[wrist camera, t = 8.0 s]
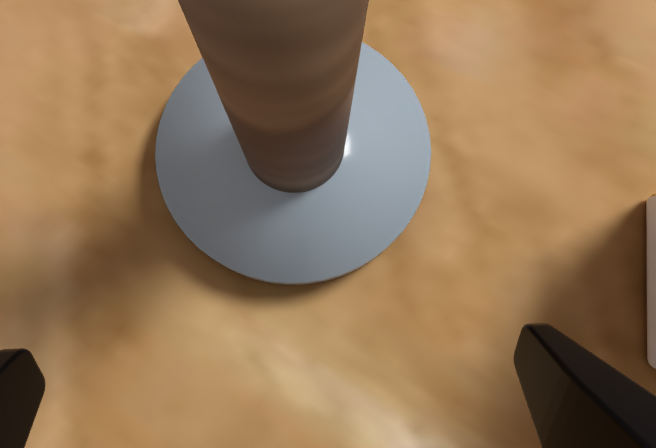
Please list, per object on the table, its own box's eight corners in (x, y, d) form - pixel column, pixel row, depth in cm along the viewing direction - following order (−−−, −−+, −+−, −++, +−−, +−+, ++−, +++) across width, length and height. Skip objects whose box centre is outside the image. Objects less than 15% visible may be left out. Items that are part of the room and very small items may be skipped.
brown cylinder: (315, 210, 16) (314, -2, 6) (225, 164, 17) (65, -117, 6) (361, 126, 17) (435, -195, 7) (275, 84, 18) (211, -287, 7)
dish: (425, 291, 17) (432, 288, 16) (148, 278, 17) (136, 275, 16) (422, 49, 20) (429, 32, 18) (182, 37, 19) (173, 18, 18)
